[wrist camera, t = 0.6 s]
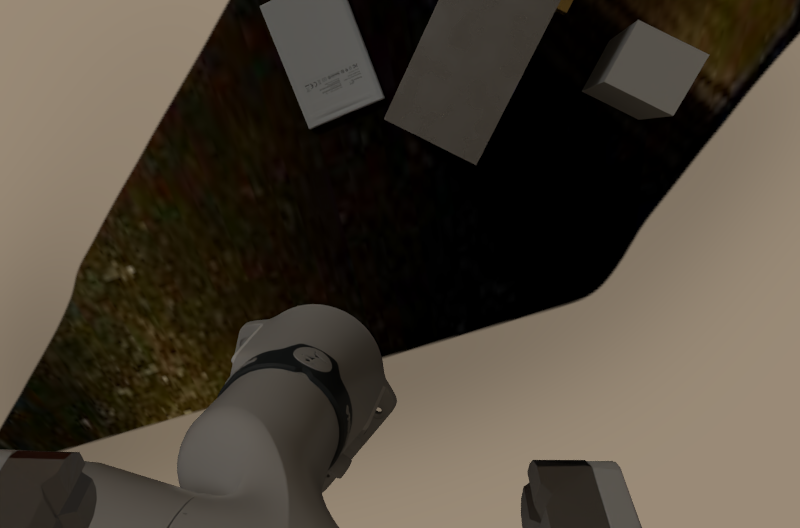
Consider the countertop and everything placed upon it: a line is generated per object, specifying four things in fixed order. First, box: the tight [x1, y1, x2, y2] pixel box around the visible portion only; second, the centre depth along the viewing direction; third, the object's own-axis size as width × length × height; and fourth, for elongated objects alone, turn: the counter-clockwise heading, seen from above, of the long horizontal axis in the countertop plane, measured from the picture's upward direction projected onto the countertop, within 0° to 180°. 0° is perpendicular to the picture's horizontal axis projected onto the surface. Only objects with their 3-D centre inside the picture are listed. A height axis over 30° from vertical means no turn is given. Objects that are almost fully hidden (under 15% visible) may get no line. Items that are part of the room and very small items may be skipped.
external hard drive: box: [260, 0, 385, 129], centre depth 58 cm, size 2×8×12 cm
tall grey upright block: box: [582, 20, 709, 120], centre depth 50 cm, size 5×6×10 cm
